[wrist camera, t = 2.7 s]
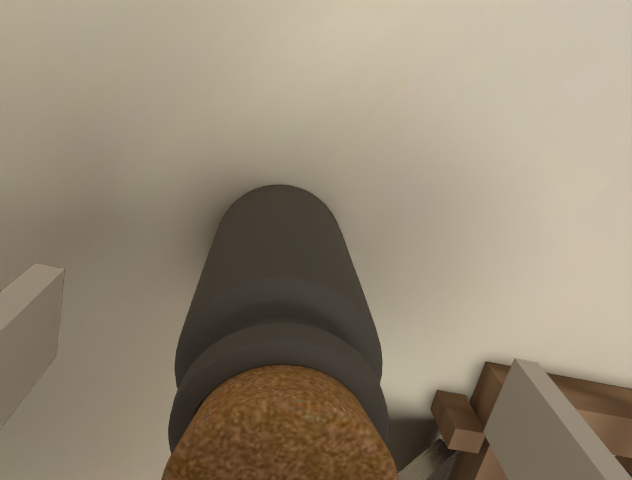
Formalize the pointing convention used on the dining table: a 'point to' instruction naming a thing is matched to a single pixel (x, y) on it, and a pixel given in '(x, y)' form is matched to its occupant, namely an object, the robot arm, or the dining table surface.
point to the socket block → (471, 418)
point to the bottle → (279, 354)
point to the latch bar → (431, 463)
